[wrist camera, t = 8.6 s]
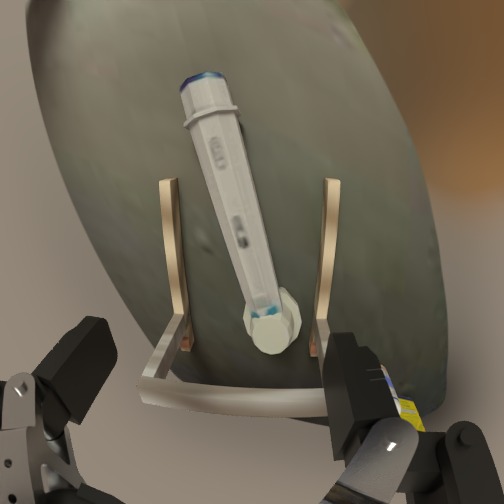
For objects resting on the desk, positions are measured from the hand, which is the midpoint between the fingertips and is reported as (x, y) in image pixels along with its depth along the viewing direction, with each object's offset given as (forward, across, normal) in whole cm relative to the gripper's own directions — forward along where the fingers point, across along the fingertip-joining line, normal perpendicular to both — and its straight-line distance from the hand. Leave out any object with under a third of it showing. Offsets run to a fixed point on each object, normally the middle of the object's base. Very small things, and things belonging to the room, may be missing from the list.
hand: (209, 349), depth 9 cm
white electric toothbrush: (+18, 0, 0) cm, 18 cm away
